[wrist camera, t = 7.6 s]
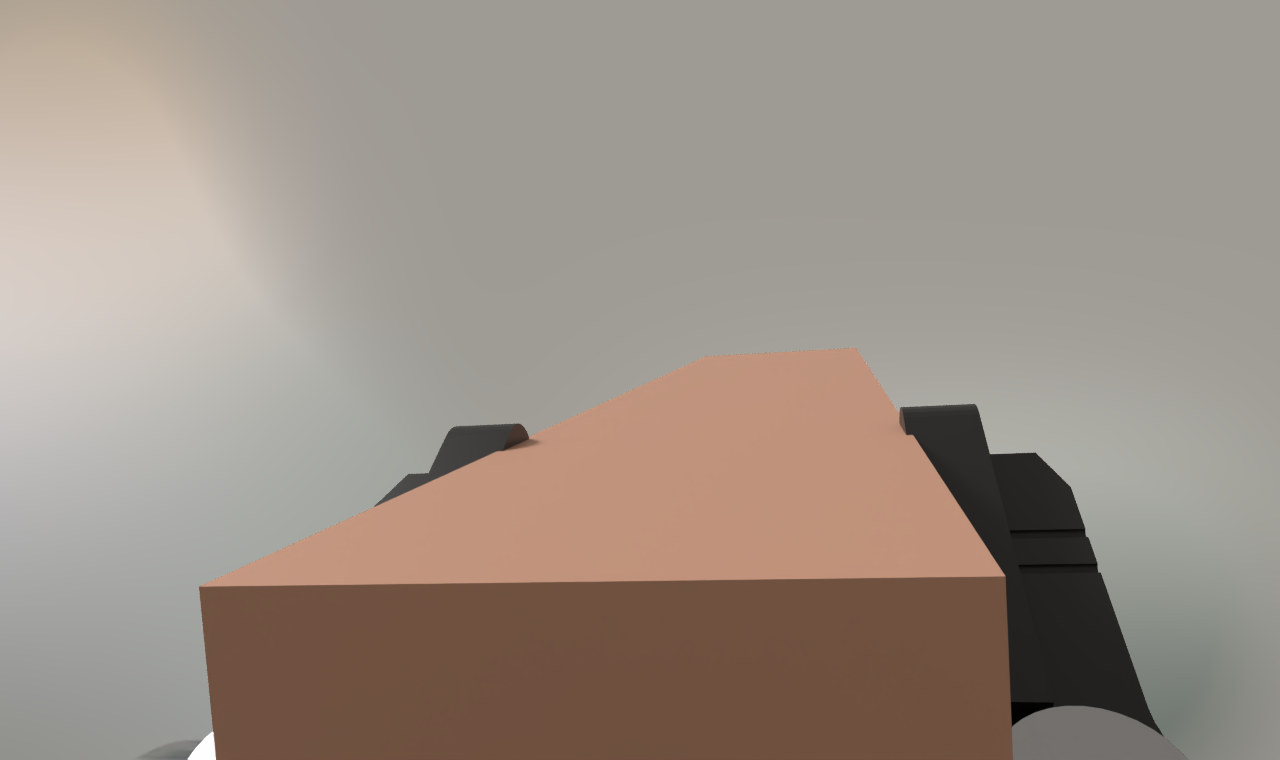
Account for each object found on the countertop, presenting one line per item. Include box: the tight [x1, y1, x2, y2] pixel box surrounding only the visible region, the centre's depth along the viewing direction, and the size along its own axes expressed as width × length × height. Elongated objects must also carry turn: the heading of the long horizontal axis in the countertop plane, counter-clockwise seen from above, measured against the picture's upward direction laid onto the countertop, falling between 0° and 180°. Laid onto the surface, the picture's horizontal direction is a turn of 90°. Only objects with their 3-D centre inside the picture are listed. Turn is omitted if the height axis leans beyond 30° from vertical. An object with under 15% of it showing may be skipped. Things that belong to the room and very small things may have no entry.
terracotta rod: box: [199, 348, 1013, 760], centre depth 16 cm, size 4×22×4 cm, turn 169°
